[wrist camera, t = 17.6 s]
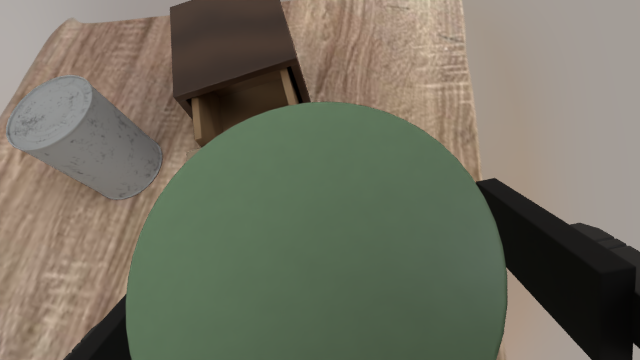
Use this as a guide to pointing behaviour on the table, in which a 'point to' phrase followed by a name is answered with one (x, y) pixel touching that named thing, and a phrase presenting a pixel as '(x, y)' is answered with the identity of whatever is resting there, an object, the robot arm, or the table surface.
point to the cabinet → (229, 46)
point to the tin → (319, 247)
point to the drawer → (240, 104)
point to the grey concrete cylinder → (84, 137)
